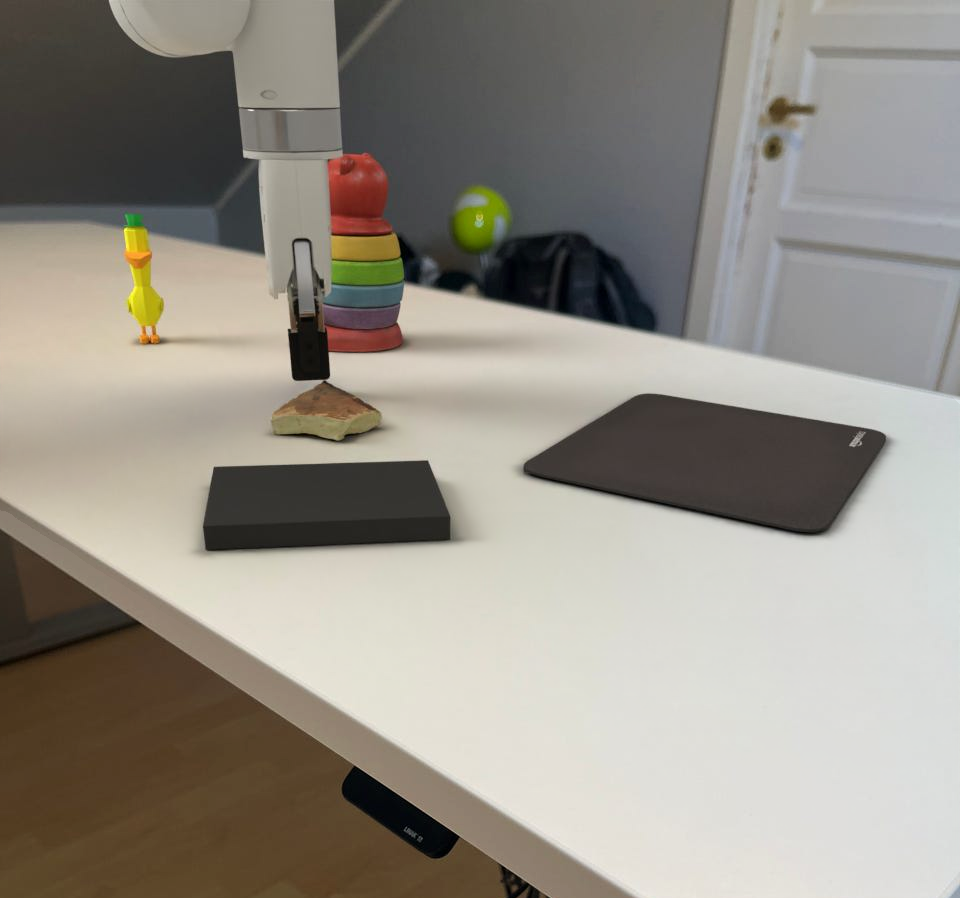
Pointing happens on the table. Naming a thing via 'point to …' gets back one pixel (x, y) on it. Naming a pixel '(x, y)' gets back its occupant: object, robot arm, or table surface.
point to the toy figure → (141, 278)
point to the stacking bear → (362, 260)
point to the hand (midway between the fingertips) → (311, 377)
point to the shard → (325, 414)
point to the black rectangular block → (324, 505)
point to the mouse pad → (717, 460)
